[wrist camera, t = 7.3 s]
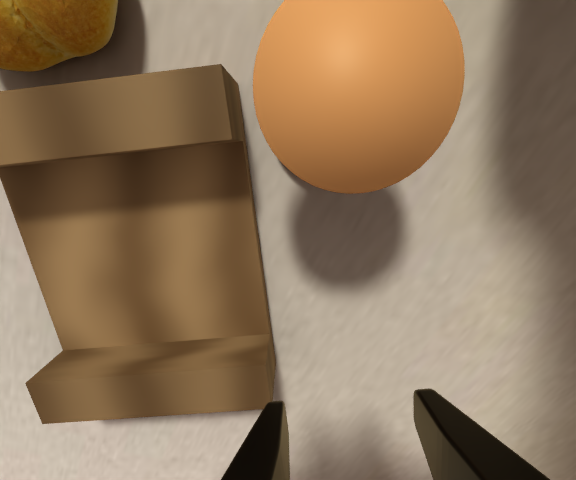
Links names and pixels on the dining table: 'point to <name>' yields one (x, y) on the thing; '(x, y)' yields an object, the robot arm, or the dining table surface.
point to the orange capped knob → (358, 88)
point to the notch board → (141, 244)
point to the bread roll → (52, 31)
